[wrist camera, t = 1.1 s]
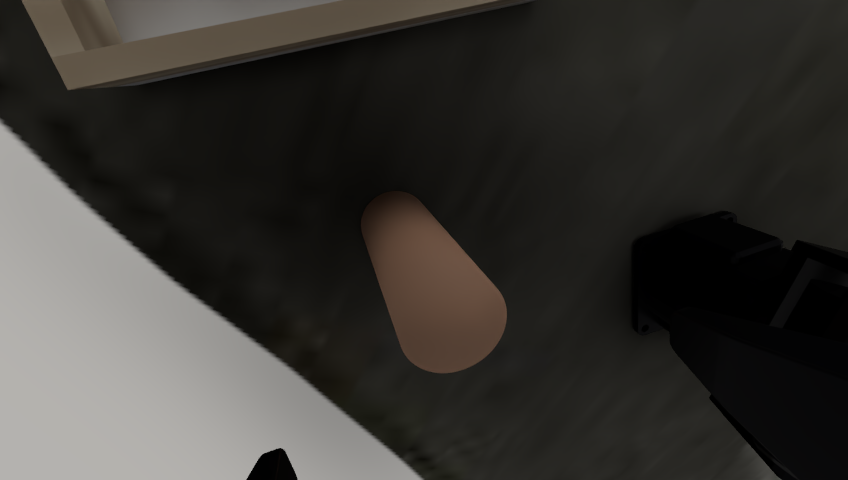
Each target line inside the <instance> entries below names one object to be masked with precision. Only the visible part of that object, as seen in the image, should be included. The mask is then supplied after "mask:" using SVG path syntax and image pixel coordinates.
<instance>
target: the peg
mask: <svg viewBox="0 0 848 480" xmlns="http://www.w3.org/2000/svg"><path fill="white" fill-rule="evenodd" d="M361 231H362V235H363V238H364V241H365V244H366V247H367V250H368V252H369V255H370V258H371V261H372V264H373V267H374V270H375V273H376V276H377V279H378V282H379V285H380V287H381V290H382V293H383V296H384V299H385V302H386V305H387V308H388V311H389V314H390V317H391V319H392V322H393V325H394V328H395V331H396V334H397V337H398V340H399V343H400V346H401V348H402V350H403V352H404V354H405V356H406V357H407V358H408V359H409V360H410V361H411V362H412V363H413V364H414V365H416V366H417V367H419V368H421V369H423V370H426V371H429V372H435V373H451V372H457V371H460V370H464V369H466V368H469V367H471V366H473V365H475V364H476V363H478V362H479V361H481V360H482V359H483V358H485V357H486V356H487V355H488V354H489V353H490V352H491V351H492V350H493V349H494V348H495V346H496V345H497V343H498V342H499V340H500V339H501V337H502V335H503V332H504V329H505V326H506V321H507V308H506V304H505V301H504V298H503V296H502V294H501V293H500V291H499V290H498V289H497V288H496V286H495V285H494V284H493V283H492V282H491V281H490V280H489V279H488V277H487V276H486V275H485V274H484V273H483V272H482V271H481V270H480V268H479V267H478V266H477V265H476V264H475V263H474V262H473V260H472V259H471V258H470V257H469V256H468V255H467V254H466V253H465V251H464V250H463V249H462V248H461V247H460V246H459V245H458V244H457V242H456V241H455V240H454V239H453V238H452V237H451V236H450V235H449V233H448V232H447V231H446V230H445V229H444V228H443V227H442V225H441V224H440V223H439V222H438V221H437V220H436V219H435V218H434V216H433V215H432V214H431V213H430V212H429V211H428V210H427V209H426V207H425V206H424V205H423V204H422V203H421V202H420V201H419V200H418V199H417V198H416V197H415V196H413V195H411V194H409V193H407V192H403V191H389V192H385V193H383V194H381V195H378V196H377V197H375V198H374V199H373V200H372V201H371V202H370V203H369V204H368V205H367V207H366V208H365V210H364V212H363V215H362V218H361Z"/></svg>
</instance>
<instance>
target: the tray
mask: <svg viewBox="0 0 848 480" xmlns="http://www.w3.org/2000/svg"><path fill="white" fill-rule="evenodd" d="M533 1H536V0H22V2H23V4H24V6H25V8H26V10H27V11H28V13H29V15H30V17H31V19H32V21H33V23H34V25H35V27H36V29H37V31H38V33H39V35H40V37H41V39H42V41H43V42H44V44H45V46H46V48H47V50H48V52H49V54H50V56H51V58H52V60H53V62H54V64H55V66H56V68H57V70H58V72H59V73H60V75H61V77H62V79H63V81H64V83H65V85H66V87H67V89H68V90H76V89H91V88H105V87H119V86H134V85H141V84H145V83H150V82H155V81H160V80H164V79H169V78H174V77H178V76H183V75H188V74H193V73H197V72H202V71H207V70H212V69H216V68H221V67H226V66H230V65H235V64H240V63H245V62H249V61H254V60H259V59H264V58H268V57H273V56H278V55H282V54H287V53H292V52H297V51H301V50H306V49H311V48H315V47H320V46H325V45H330V44H334V43H339V42H344V41H349V40H353V39H358V38H363V37H367V36H372V35H377V34H382V33H386V32H391V31H396V30H401V29H405V28H410V27H415V26H419V25H424V24H429V23H434V22H438V21H443V20H448V19H453V18H457V17H462V16H467V15H471V14H476V13H481V12H486V11H490V10H495V9H500V8H504V7H509V6H514V5H519V4H523V3H528V2H533Z"/></svg>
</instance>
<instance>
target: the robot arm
mask: <svg viewBox="0 0 848 480" xmlns="http://www.w3.org/2000/svg"><path fill="white" fill-rule="evenodd" d="M736 222H737V216H736V215H735V214H734V213H731V212H728V211H724V212H721V213H718V214H715V215H707V216H704V217H701V218H698V219H695V220H692V221H688V222H685V223H682V224H679V225H676V226H674V227H673V228H671V229H668V230H664V231H661V232H658V233H655V234H652V235H649V236H646V237H642V238H640V239H638V240H637V241H636V243H635V245H634V325H633V327H634V330H635V331H636V332H637V333H638V334H640V335H647V334H649V333H652V332H655V331H658V330H661V329H663V328H664V329H666V330H667V331H669V332H670V344H671V346H672V348H673V350H674V351H675V353H676V354H677V355H678V356H679V357H680V358H681V360H682V361H683V362H684V363H685V364H686V365H687V366H688V368H689V369H690V370H691V371H692V372H693V373H694V374H695V376H696V377H697V378H698V379H699V380H700V381H701V383H702V384H703V385H704V386H705V387H706V388H707V389H708V391H709V392H710V393H711V395H710V397H709V398H710V400H711V401H712V402H713V403H714V404H715V406H716V407H717V408H718V409H719V410H720V411H721V412H722V414H723V415H724V416H725V417H726V418H727V420H728V421H729V422H730V423H731V424H732V425H733V426H734V428H735V429H736V430H737V431H738V432H739V433H740V434H741V436H742V437H743V438H744V439H745V440H746V441H747V442H748V444H749V445H750V446H751V447H752V448H753V449H754V450H755V451H756V453H757V454H758V455H759V456H760V457H761V458H762V459H763V461H764V462H765V463H766V464H767V465H768V466H769V467H770V469H771V470H772V471H773V472H774V473H775V474H776V475H777V476H778V477H779V478H780V479H782V480H848V252H845V251H841V250H836V249H832V248H828V247H824V246H820V245H816V244H812V243H808V242H804V241H800V240H796V242H795V244H794V246H793V248H792V250H791V251H790V250H788V249H785V248H782V247H783V241H782V240H780V239H779V238H777V237H775V236H772V235H769V234H766V233H763V232H760V231H757V230H755V229H752V228H749V227H746V226H743V225H740V224H737V223H736ZM644 245H645V247H644ZM643 247H644V248H643ZM247 480H297V477H296V474H295V471H294V469H293V467H292V465H291V463H290V461H289V458H288V456H287V454H286V452H285V451H284V450H283V449H281V448H279V449H276V450H273V451H270V452H267V453H264V454H263V455H262V456H261V457H260V458H259V459H258V461H257V463H256V464H255V466H254V468H253V470H252V471H251V473H250V474H249V476H248V478H247Z"/></svg>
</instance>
